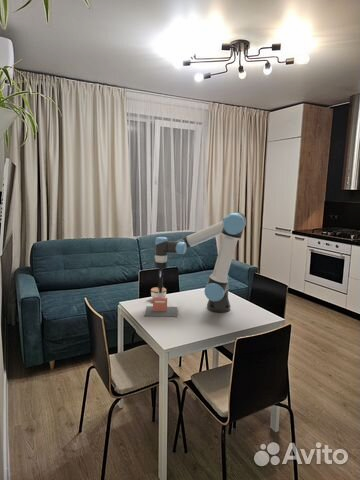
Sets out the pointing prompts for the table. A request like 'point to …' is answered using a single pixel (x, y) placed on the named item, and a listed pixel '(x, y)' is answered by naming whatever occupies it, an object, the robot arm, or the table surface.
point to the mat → (161, 312)
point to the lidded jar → (155, 292)
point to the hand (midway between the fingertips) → (160, 297)
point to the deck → (159, 304)
